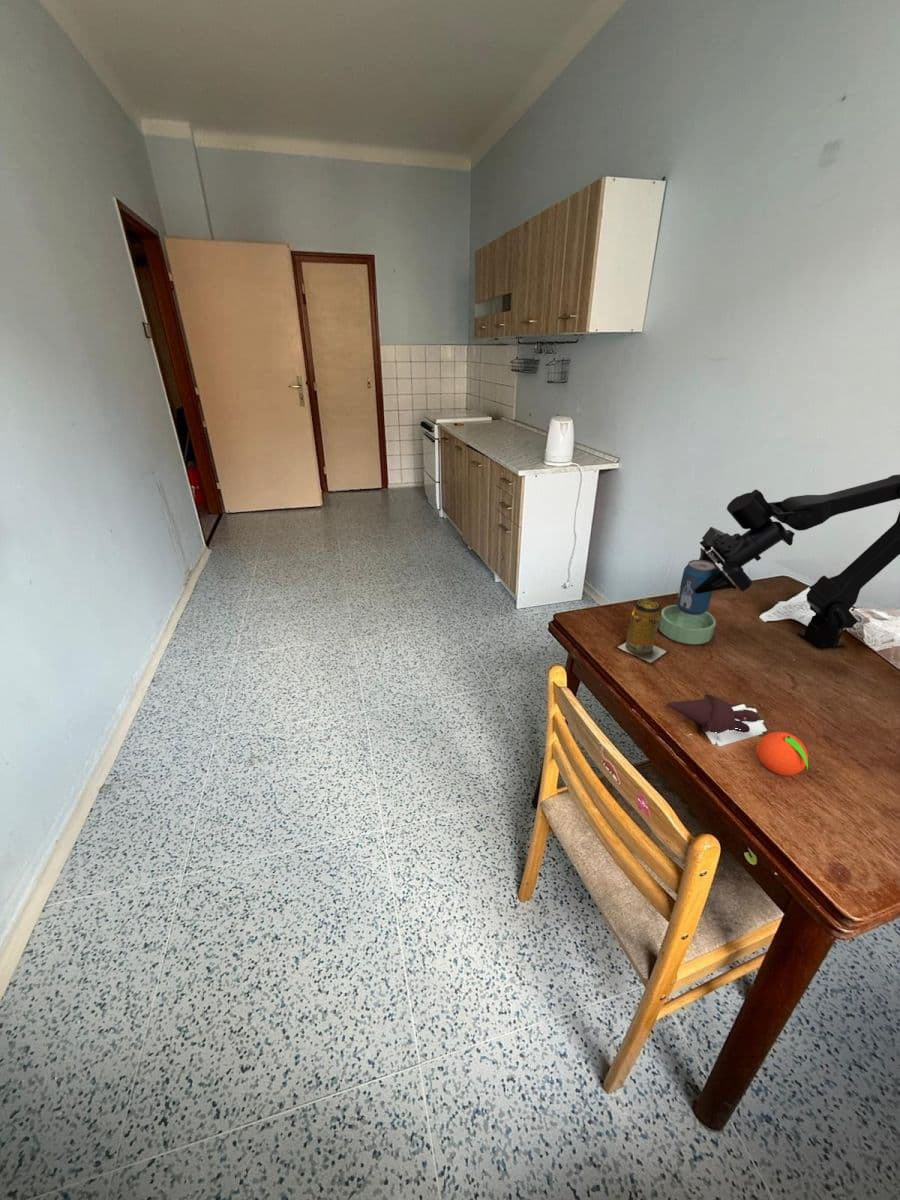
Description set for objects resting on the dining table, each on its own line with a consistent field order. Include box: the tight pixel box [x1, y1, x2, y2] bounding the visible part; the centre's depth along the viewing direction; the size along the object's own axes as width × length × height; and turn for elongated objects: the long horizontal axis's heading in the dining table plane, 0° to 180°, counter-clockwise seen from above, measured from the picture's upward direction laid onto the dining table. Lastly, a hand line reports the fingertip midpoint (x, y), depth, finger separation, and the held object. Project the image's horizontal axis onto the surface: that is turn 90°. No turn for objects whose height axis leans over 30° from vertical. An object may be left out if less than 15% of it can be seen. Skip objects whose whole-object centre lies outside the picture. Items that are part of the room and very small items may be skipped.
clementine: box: [756, 731, 809, 776], centre depth 78 cm, size 8×7×7 cm
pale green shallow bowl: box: [658, 604, 717, 645], centre depth 117 cm, size 12×12×4 cm
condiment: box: [617, 598, 667, 664], centre depth 108 cm, size 7×8×12 cm
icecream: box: [666, 694, 761, 734], centre depth 87 cm, size 7×7×15 cm
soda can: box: [676, 559, 716, 615], centre depth 111 cm, size 7×7×12 cm
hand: (690, 585), depth 111 cm, fingers closed on soda can, 7 cm apart
